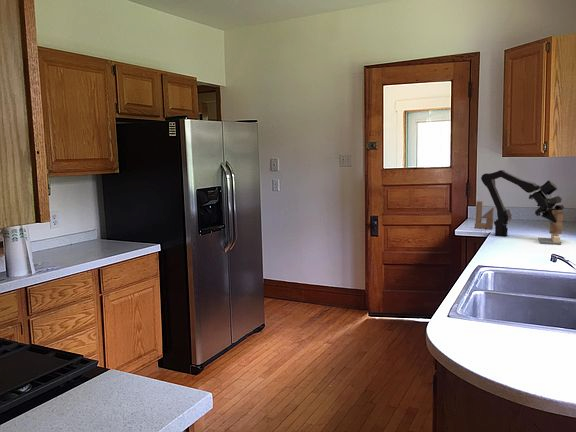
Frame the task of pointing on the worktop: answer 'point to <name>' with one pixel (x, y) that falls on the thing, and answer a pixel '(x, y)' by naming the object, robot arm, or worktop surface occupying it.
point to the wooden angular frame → (479, 216)
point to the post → (557, 227)
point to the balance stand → (550, 240)
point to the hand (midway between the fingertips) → (558, 222)
